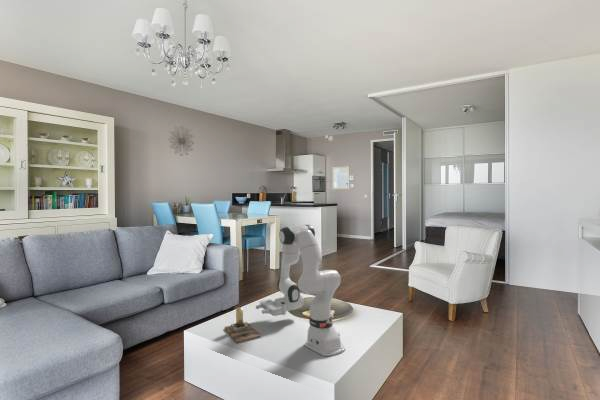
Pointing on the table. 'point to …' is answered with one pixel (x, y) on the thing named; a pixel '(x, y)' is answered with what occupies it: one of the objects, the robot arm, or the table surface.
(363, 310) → the table surface
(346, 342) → the table surface
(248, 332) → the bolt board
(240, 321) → the brass peg
